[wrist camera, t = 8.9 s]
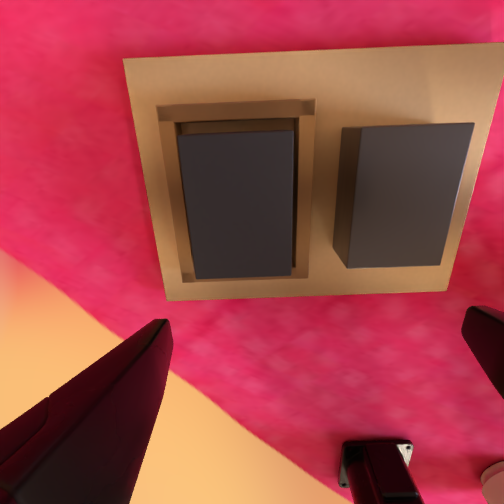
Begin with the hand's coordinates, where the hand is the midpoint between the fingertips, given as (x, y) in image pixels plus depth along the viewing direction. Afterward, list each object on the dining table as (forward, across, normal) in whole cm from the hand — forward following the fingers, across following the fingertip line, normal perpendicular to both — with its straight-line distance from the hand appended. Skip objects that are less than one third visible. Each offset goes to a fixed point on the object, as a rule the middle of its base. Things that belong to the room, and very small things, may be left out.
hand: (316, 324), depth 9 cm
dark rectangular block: (+10, +2, -2) cm, 10 cm away
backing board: (+11, -2, -2) cm, 11 cm away
